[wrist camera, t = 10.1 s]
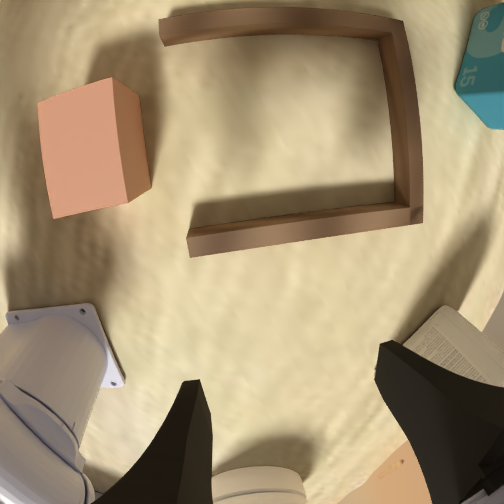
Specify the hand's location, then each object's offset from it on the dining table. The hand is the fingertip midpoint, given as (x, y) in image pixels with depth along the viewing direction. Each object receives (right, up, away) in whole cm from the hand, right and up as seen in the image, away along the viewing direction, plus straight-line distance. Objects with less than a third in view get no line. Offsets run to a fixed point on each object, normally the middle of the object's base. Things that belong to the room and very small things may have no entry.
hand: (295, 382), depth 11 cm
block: (-10, +11, +6) cm, 17 cm away
